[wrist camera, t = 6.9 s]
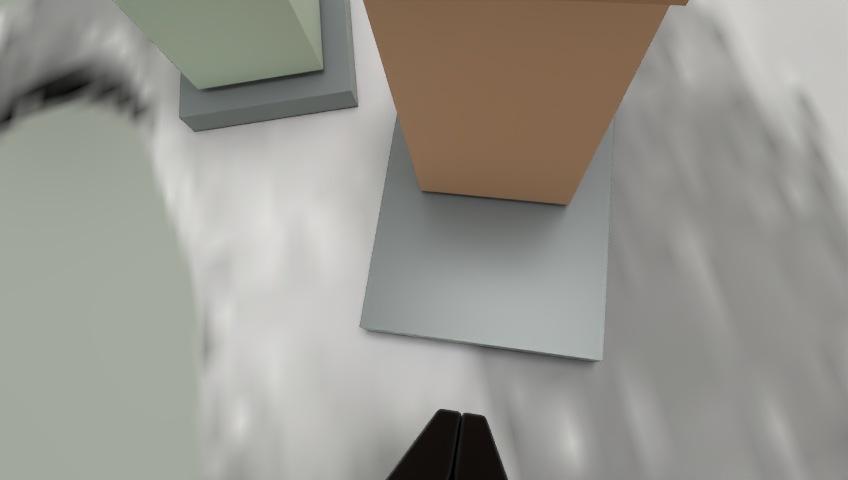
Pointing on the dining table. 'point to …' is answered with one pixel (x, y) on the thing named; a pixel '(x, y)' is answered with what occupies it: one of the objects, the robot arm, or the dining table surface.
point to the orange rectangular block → (509, 87)
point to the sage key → (232, 37)
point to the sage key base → (282, 84)
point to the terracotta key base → (492, 264)
